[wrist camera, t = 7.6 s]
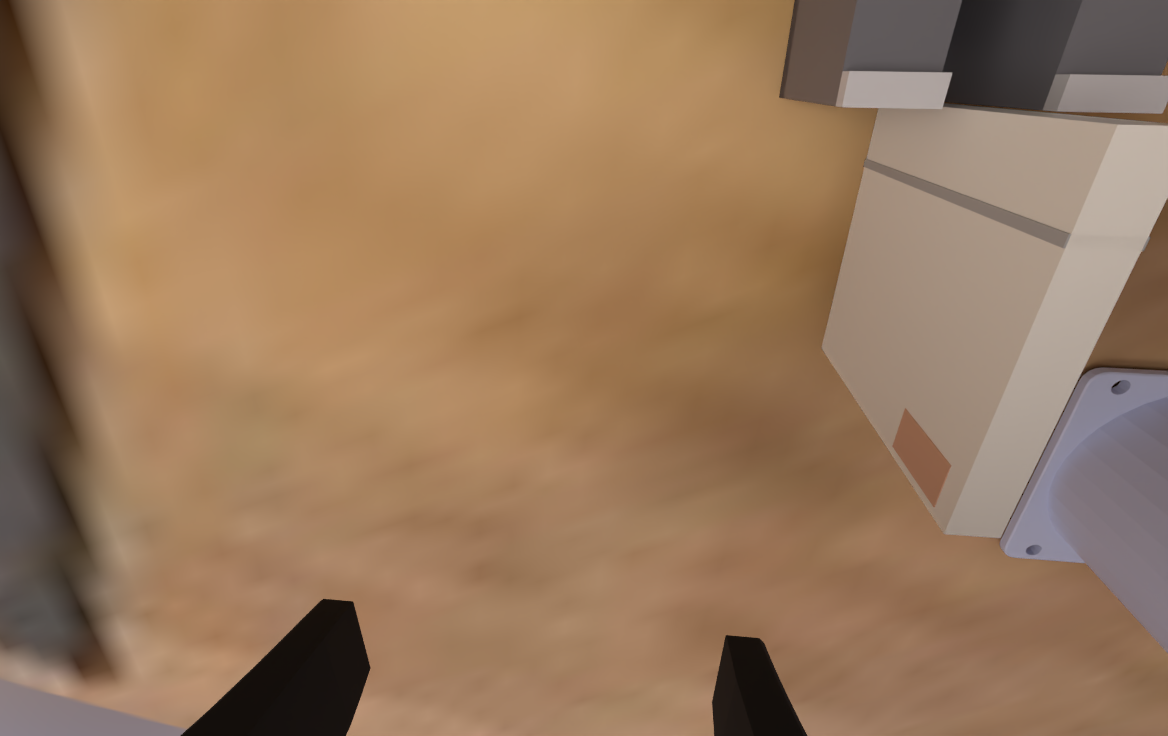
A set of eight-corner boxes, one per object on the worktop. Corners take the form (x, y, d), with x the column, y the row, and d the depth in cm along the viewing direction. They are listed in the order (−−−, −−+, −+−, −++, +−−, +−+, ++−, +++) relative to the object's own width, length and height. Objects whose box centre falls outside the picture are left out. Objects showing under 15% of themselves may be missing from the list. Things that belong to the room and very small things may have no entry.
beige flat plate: (922, 101, 14) (1205, 126, 7) (855, 350, 17) (1002, 538, 10) (878, 100, 14) (1115, 123, 7) (820, 348, 17) (942, 533, 10)
